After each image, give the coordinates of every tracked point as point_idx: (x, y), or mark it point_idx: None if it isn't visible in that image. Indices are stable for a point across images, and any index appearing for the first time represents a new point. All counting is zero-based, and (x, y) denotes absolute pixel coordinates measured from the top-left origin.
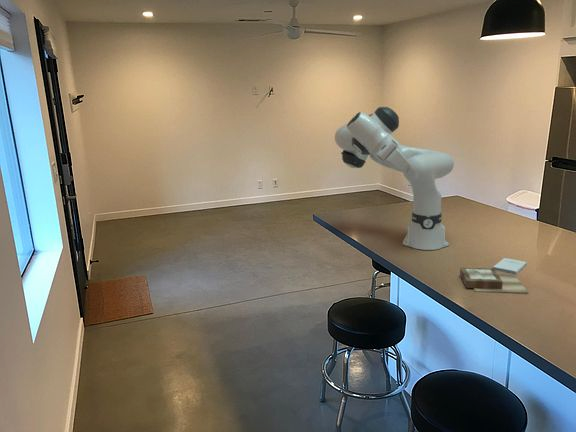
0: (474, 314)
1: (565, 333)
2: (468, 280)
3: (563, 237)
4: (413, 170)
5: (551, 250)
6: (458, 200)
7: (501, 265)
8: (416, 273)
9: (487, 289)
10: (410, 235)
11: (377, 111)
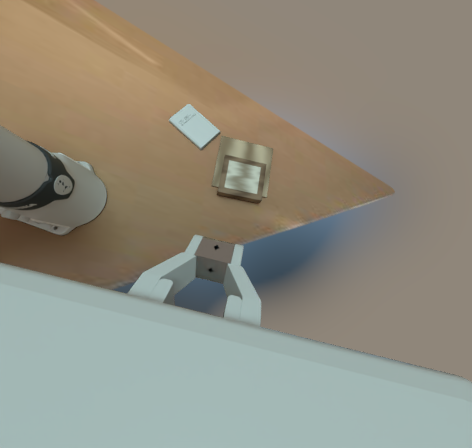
0: (317, 219)
1: (347, 163)
2: (260, 198)
3: (88, 6)
4: (250, 284)
5: (141, 51)
6: None
7: (197, 136)
8: None
9: (264, 183)
10: (59, 221)
11: None
